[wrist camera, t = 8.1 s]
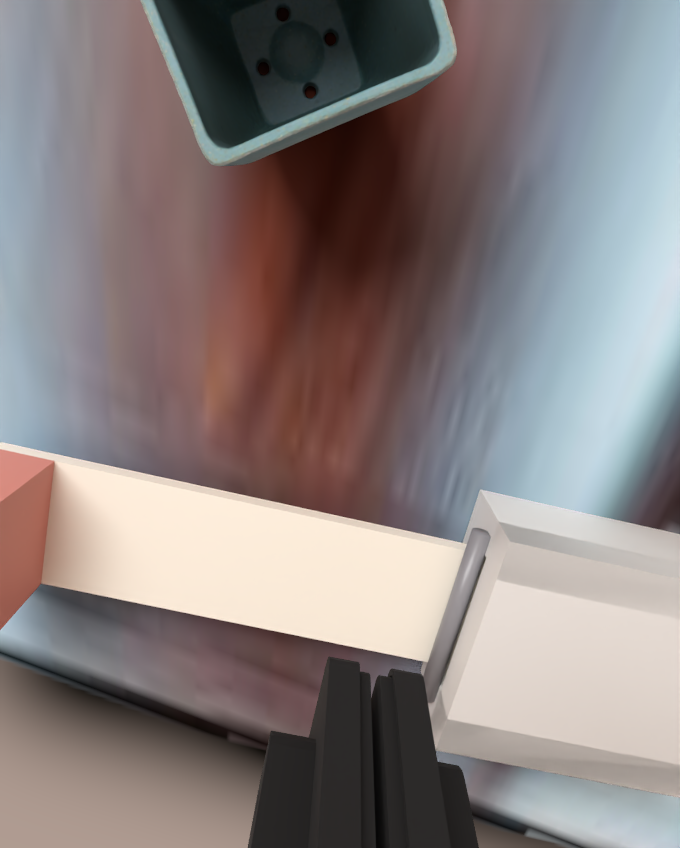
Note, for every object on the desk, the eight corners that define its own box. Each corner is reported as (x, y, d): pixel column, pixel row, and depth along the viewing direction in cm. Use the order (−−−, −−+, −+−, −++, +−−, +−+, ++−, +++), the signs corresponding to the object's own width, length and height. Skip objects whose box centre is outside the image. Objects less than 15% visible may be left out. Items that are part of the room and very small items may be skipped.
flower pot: (424, 119, 27) (463, 62, 19) (248, 193, 28) (208, 171, 20) (357, -98, 25) (366, -275, 17) (166, -9, 26) (81, -134, 17)
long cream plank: (498, 550, 32) (532, 615, 26) (460, 659, 34) (484, 742, 28) (1, 442, 30) (-76, 487, 24) (-9, 563, 32) (-82, 631, 26)
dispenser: (719, 543, 34) (798, 604, 28) (639, 714, 37) (695, 800, 31) (464, 485, 33) (490, 537, 27) (406, 666, 36) (418, 747, 30)
